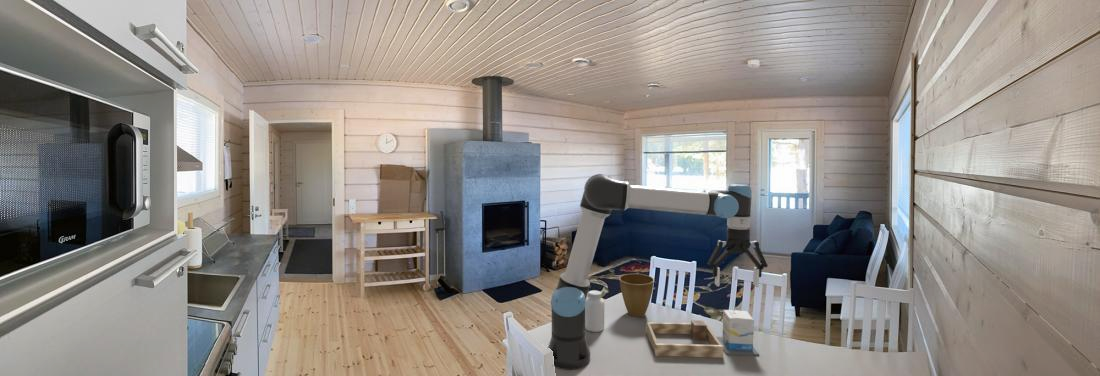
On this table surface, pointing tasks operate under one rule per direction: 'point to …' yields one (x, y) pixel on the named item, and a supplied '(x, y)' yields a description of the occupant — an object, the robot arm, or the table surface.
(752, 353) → the grey mat
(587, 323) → the white bottle
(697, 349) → the frame
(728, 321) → the ink box
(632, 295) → the plant pot
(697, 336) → the walnut block
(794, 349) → the table surface
